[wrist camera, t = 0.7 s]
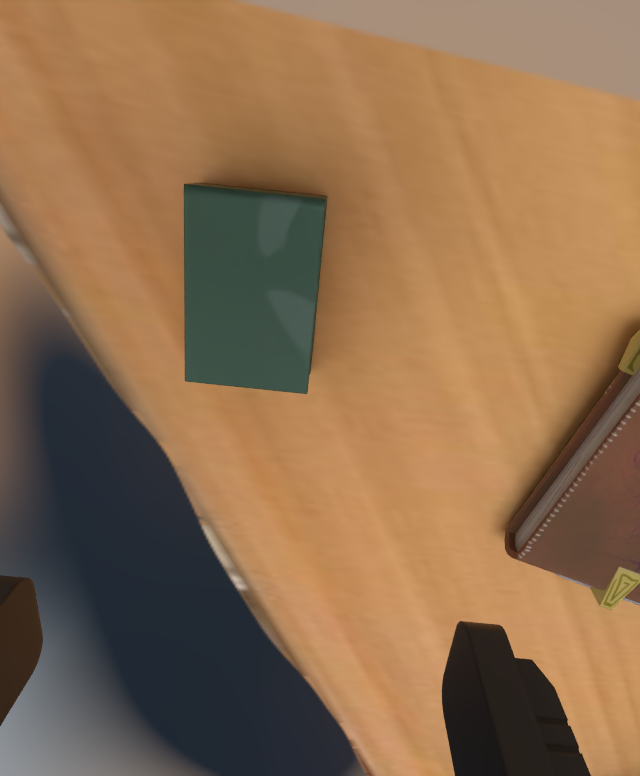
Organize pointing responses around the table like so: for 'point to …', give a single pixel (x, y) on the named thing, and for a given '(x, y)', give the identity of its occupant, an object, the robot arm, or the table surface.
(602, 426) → the book
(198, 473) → the table surface
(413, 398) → the table surface
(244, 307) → the notebook
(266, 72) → the table surface
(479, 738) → the robot arm
